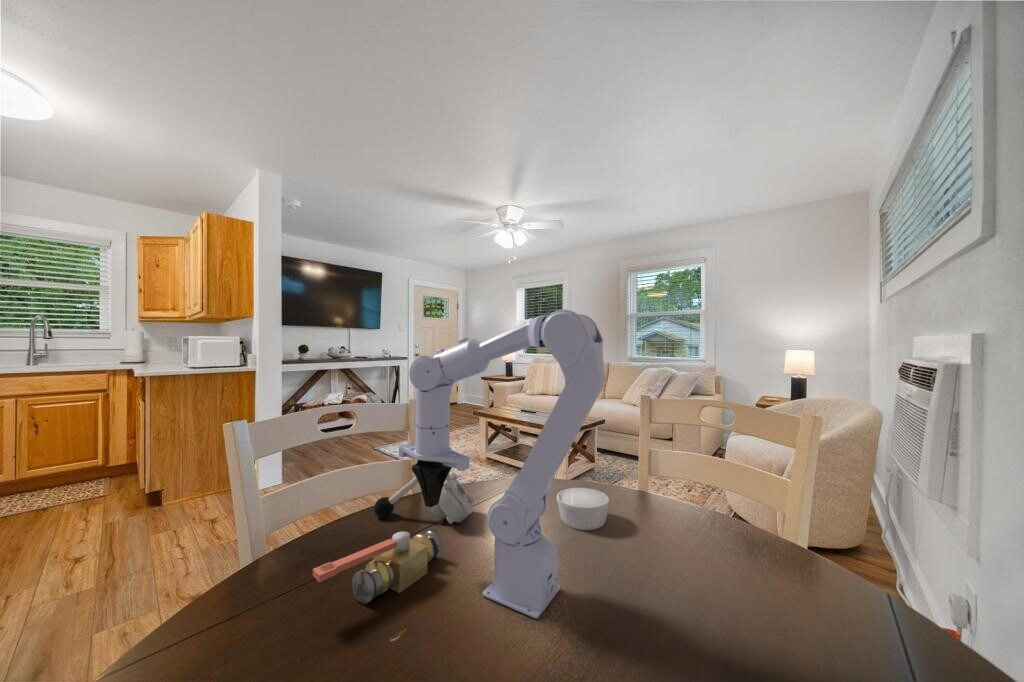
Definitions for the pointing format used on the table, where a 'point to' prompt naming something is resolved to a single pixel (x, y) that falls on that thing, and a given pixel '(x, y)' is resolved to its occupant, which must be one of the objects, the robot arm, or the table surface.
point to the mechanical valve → (450, 505)
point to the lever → (362, 556)
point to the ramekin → (583, 508)
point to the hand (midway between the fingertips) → (432, 504)
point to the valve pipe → (396, 568)
